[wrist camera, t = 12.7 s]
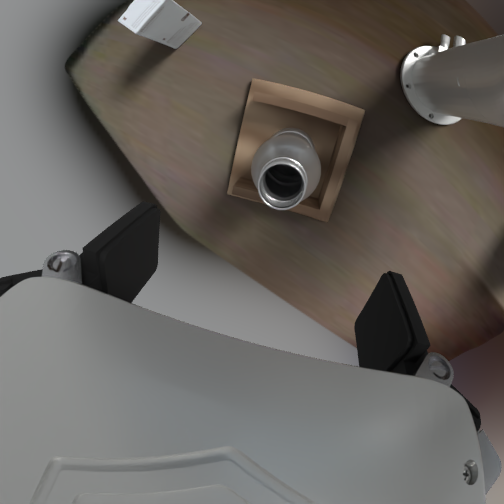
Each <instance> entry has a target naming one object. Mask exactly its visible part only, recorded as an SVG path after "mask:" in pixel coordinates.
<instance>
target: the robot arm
mask: <svg viewBox="0 0 504 504" xmlns="http://www.w3.org/2000/svg"><path fill="white" fill-rule="evenodd" d="M449 43H450V37H449V36H447V35H444V34H442V36H441V45H440V46H438V47H434V46H421V47H418V48H415V49H413V50H412V51H411V52H409V53H408V54H407V56H406V57H405V58H404V60H403V62H402V66H401V72H400V78H401V85H402V89H403V92H404V94H405V96H406V98H407V100H408V102H409V103H410V105H411V106H412V108H413V109H414V110H415V111H416V112H417V113H418V114H419V115H420V116H422V117H423V118H425V119H426V120H428V121H430V122H433V123H436V124H441V125H449V124H454V123H456V122H458V121H459V120H461V119H462V118H465V119H470V120H475V121H480V122H484V123H489V124H493V125H497V126H501V127H504V35H501V36H497V37H493V38H490V39H485V40H481V41H477V42H473V43H469V44H466V41H465V39H463V38H462V37H459V36H455V37H454V43H453V46H454V47H453V48H450V49H448V47H449ZM413 54H414V55H415V57H414V55H413ZM406 85H408V88H407V87H406ZM429 115H430V117H429ZM159 224H160V209H157V205H155V204H152V203H148V202H141V203H140V204H139V205H137V206H136V207H135V208H133V209H132V210H130V211H129V212H128V213H126V214H125V215H124V216H122V217H121V218H120V219H118V220H117V221H116V222H114V223H113V224H112V225H111V226H109V227H108V228H107V229H106V230H104V231H103V232H102V233H100V234H99V235H98V236H97V237H95V238H94V239H93V240H92V241H90V242H89V243H88V244H87V245H86V246H84V247H83V253H82V254H80V255H78V254H77V253H76V252H74V251H70V250H62V251H57V252H55V253H53V254H51V255H50V256H48V257H47V258H46V260H45V261H44V264H43V269H42V270H37V271H32V272H27V273H21V274H16V275H12V276H6V277H2V278H0V504H486V499H485V495H486V493H487V492H488V491H489V489H490V488H491V486H492V485H493V484H494V482H495V481H496V480H497V478H498V477H499V475H500V472H501V461H500V459H499V456H498V455H497V453H496V451H495V449H494V448H493V446H492V444H491V442H490V441H489V439H488V437H487V436H486V434H485V432H484V431H483V429H482V430H481V431H479V428H480V425H481V419H480V413H479V411H478V410H477V408H475V407H474V406H473V405H472V404H471V403H470V402H469V401H468V400H467V399H466V398H465V397H464V396H463V395H462V394H461V393H460V392H459V391H458V390H457V389H456V388H455V387H453V386H452V384H451V382H452V380H453V375H454V374H453V369H452V366H451V365H450V363H449V362H448V360H447V359H446V358H445V357H443V356H442V355H440V354H438V353H433V352H432V353H429V354H428V352H427V349H428V348H429V347H430V343H429V340H428V337H427V334H426V332H425V329H424V326H423V324H422V321H421V318H420V316H419V313H418V311H417V308H416V306H415V304H414V301H413V299H412V296H411V294H410V292H409V290H408V287H407V285H406V283H405V281H404V278H403V276H402V275H401V274H398V273H395V272H391V271H388V272H387V273H384V274H383V275H382V276H381V278H380V280H379V282H378V284H377V285H376V287H375V289H374V291H373V292H372V294H371V296H370V298H369V299H368V301H367V303H366V304H365V306H364V308H363V310H362V311H361V313H360V314H359V316H358V318H357V319H356V322H355V335H356V343H357V350H358V358H359V367H358V366H352V365H347V364H342V363H337V362H331V361H327V360H322V359H317V358H312V357H308V356H303V355H299V354H295V353H291V352H286V351H282V350H278V349H274V348H270V347H266V346H262V345H258V344H255V343H251V342H248V341H243V340H240V339H237V338H233V337H230V336H227V335H223V334H220V333H217V332H213V331H210V330H207V329H204V328H201V327H198V326H194V325H191V324H188V323H185V322H182V321H179V320H176V319H174V318H171V317H168V316H165V315H162V314H159V313H156V312H153V311H151V310H148V309H145V308H142V307H140V306H137V305H135V304H132V301H133V300H134V298H135V297H136V296H137V295H138V293H139V292H140V291H141V289H142V288H143V287H144V285H145V284H146V283H147V281H148V280H149V279H150V278H151V276H152V275H153V274H154V272H155V271H156V269H157V265H158V243H159Z"/></svg>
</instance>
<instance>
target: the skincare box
mask: <svg viewBox="0 0 504 504" xmlns="http://www.w3.org/2000/svg"><path fill="white" fill-rule="evenodd" d="M118 22H120V23H121V24H123V25H124V26H126V27H127V28H129V29H130V30H131V31H133V32H134V33H135V34H137V35H140V36H144V37H146V38H149V39H151V40H154V41H157V42H159V43H162V44H164V45H167V46H169V47H172V48H174V49H177V48H178V47H179V46H180V45H181V44H182V43H183V42H184V41H186V40H187V39H188V38H189V37H190V36H191V35H192V34H193V33H194V32H195V31H196V30H197V29H198V28H199V27H200V25H201V24H202V22H200V21H199V20H198V19H197V18H195V17H194V16H193V15H191V14H190V13H189V12H188V11H186V10H185V9H184V8H182V7H181V6H180V5H178V4H177V3H176V2H174V1H173V0H134V1H133V2H132V3H131V5H130V6H129V7H128V9H127V10H126V11H125V13H124V14H123V15H122V16H121V17H120V19H119V20H118Z"/></svg>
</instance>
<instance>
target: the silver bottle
mask: <svg viewBox="0 0 504 504" xmlns="http://www.w3.org/2000/svg"><path fill="white" fill-rule="evenodd" d="M251 174H252V178H253V182H254V184H255V186H256V188H257V189H258V192H259V195H260V197H261V199H262V200H263V202H264V203H265V204H266V205H268V206H269V207H271V208H273V209H277V210H287V209H291V208H293V207H295V206H296V205H297V204H299V203H300V202H301V201H303V200H304V199H306V198H307V197H309V196H310V195H311V194H312V193H313V191H314V190H315V189H316V187H317V185H318V183H319V180H320V176H321V164H320V160H319V157H318V155H317V153H316V151H315V146H314V143H313V141H312V139H311V138H310V136H309V135H308V134H307V133H305V132H304V131H302V130H300V129H297V128H285V129H282V130H279V131H278V132H276V133H275V134H274V135H273V136H272V137H271V138H270V139H269V140H267V141H266V142H264V143H263V144H262V145H261V146H260V147H259V148H258V150H257V152H256V153H255V155H254V158H253V160H252V166H251Z"/></svg>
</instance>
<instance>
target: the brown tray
mask: <svg viewBox="0 0 504 504" xmlns="http://www.w3.org/2000/svg"><path fill="white" fill-rule="evenodd" d="M364 112H365V110H363V109H361V108H358V107H355V106H353V105H350V104H347V103H344V102H341V101H338V100H335V99H332V98H329V97H326V96H322V95H319V94H316V93H312V92H309V91H305V90H302V89H298V88H294V87H290V86H286V85H282V84H278V83H273V82H269V81H264V80H259V79H254V78H253V79H252V83H251V87H250V91H249V95H248V100H247V104H246V108H245V112H244V117H243V121H242V126H241V130H240V134H239V139H238V144H237V148H236V153H235V157H234V162H233V167H232V172H231V177H230V181H229V186H228V191H227V194H229V195H233V196H236V197H240V198H244V199H248V200H252V201H255V202H259V203H263V204H265V203H264V202H263V200H262V199H261V197H260V195H259V192H258V189H257V188H256V186H255V184H254V182H253V178H252V174H251V166H252V160H253V158H254V155H255V153H256V152H257V150H258V148H259V147H260V146H261V145H262V144H263V143H264V142H266V141H267V140H269V139H270V138H271V137H272V136H273V135H274V134H275V133H276V132H278V131H279V130H282V129H285V128H297V129H300V130H302V131H304V132H305V133H307V134H308V135H309V136H310V138H311V139H312V141H313V143H314V146H315V151H316V153H317V155H318V157H319V160H320V164H321V176H320V180H319V183H318V185H317V187H316V189H315V190H314V191H313V193H312V194H311V195H310V196H309V197H307V198H306V199H304V200H303V201H301V202H300V203H299V204H297V205H296V206H295V207H293V208H291V209H287V210H288V211H291V212H295V213H298V214H301V215H305V216H308V217H311V218H315V219H318V220H321V221H325V222H328V221H329V219H330V216H331V213H332V210H333V208H334V205H335V202H336V199H337V196H338V194H339V191H340V188H341V185H342V182H343V179H344V176H345V173H346V170H347V167H348V164H349V161H350V158H351V155H352V152H353V149H354V146H355V142H356V139H357V136H358V133H359V129H360V126H361V123H362V119H363V116H364Z"/></svg>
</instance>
